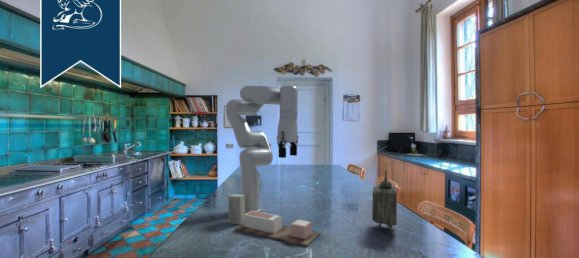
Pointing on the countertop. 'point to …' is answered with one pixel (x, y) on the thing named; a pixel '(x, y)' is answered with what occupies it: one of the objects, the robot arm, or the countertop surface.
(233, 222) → the skincare box
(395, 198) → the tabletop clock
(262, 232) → the board
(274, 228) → the white box with vents
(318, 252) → the countertop surface
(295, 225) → the stub
